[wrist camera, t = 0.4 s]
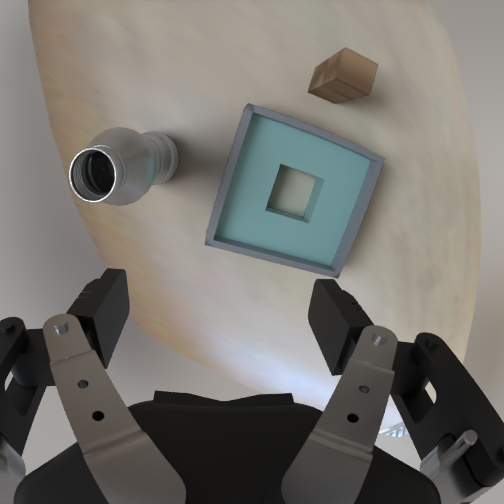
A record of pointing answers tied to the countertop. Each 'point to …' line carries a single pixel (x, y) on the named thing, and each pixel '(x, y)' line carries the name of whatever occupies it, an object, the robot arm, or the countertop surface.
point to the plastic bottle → (122, 166)
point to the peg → (343, 77)
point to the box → (320, 203)
